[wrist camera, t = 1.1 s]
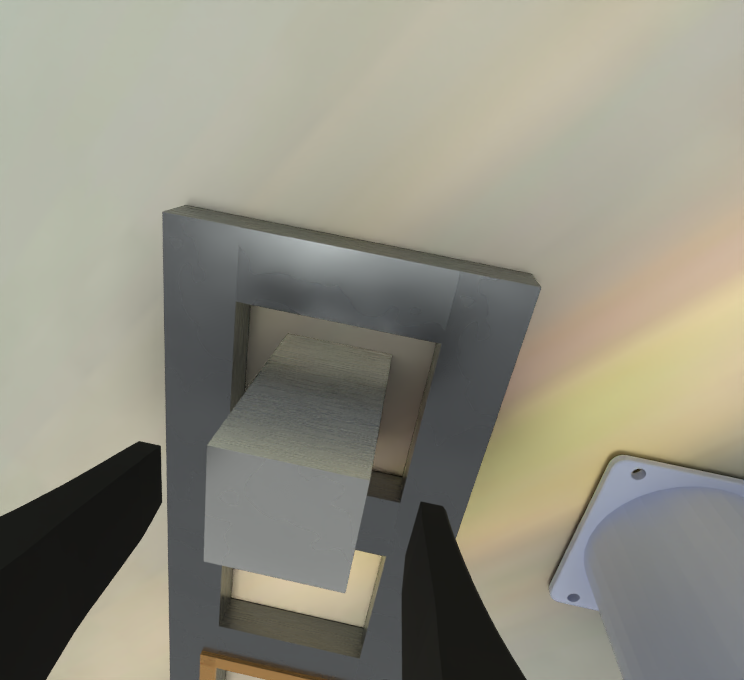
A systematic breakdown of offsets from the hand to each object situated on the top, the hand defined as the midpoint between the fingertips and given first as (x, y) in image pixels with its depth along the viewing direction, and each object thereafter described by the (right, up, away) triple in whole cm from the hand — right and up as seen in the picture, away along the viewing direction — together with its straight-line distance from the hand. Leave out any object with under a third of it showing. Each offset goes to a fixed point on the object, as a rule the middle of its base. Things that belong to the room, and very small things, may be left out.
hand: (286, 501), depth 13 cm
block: (+1, +2, +6) cm, 6 cm away
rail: (-1, -7, +10) cm, 12 cm away
